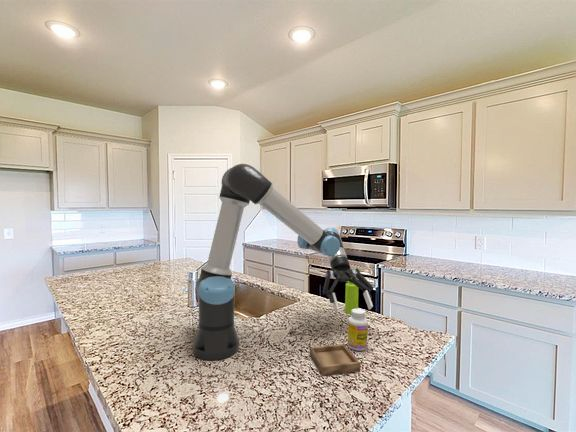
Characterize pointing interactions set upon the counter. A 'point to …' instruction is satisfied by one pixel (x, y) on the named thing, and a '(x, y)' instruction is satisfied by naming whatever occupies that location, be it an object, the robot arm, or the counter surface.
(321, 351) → the walnut tray
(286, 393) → the counter surface
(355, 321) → the supplement bottle
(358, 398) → the counter surface
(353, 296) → the soap dispenser
